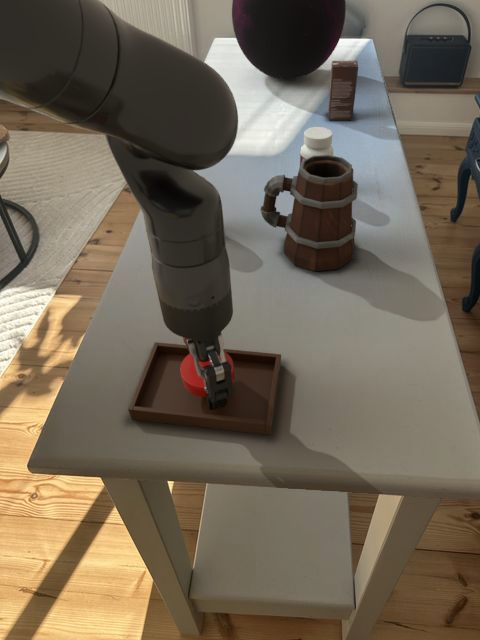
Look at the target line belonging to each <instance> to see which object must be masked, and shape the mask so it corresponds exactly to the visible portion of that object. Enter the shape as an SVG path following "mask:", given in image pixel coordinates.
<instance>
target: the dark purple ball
mask: <svg viewBox="0 0 480 640" xmlns="http://www.w3.org/2000/svg"><path fill="white" fill-rule="evenodd" d="M231 2H232V3H231V20H232V21H231V22H232V27H233V32H234V36H235V39H236V42H237V44H238V47H239V49H240V50H241V51H242V53H243V55H244V57H245V58H246V59H247V61H248V62H249V63H250V64H251V65H252V66H253V67H254V68H255V69H256V70H258V71H259V72H260V73H263V74H265V75H266V76H268V77H271V78H275V79H278V80H279V79H280V80H294V79H295V80H296V79H300V78H303V77H306V76H308V75H309V74H312V73H313V72H315V71H316V70H319V68H320V67H321V66H323V65H324V64H325V63H326V62H327V60H329V58H330V57H331V56H332V54H333V53H334V51H335V50H336V48H337V46H338V44H339V41H340V39H341V37H342V33H343V30H344V26H345V20H346V12H347V11H346V10H347V9H346V7H347V6H346V0H232V1H231Z"/></svg>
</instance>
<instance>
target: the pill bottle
mask: <svg viewBox="0 0 480 640" xmlns="http://www.w3.org/2000/svg"><path fill="white" fill-rule="evenodd" d="M332 144H333V132H332V130H330V129H329V128H328V127H327V128H326V127H323V126H312V127H309V128H307V129H306V130H304V133H303V144H302V146H301V148H300V153H299V166H300V165H301V163H302V161H304V160H306V159H308V158H310V157H312V156H318V155H332V156H334V148H333V146H332Z"/></svg>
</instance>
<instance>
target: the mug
mask: <svg viewBox="0 0 480 640" xmlns="http://www.w3.org/2000/svg"><path fill="white" fill-rule="evenodd" d="M358 185H359V184H358V183H357V182H356V180H354V168H353V165H352V163H350V162H349V161H347V160H346V159H345V158H344V157H341V156H336V155H333V156H332V155H318V156H312V157H310V158H308V159H306V160H304V161H302V163H301V165H300V164H299V168H298V172H297V175H294V176H293V177H292V178H291V177H286V174H282V175H281V174H280V175H275V176H273V177H271V178H270V179H269V180H268V181H267V182H266V185H264V188H263V191H264V198H263V204H262V205H261V206H260V209H259V211H260V213H261V217H262V218H263V220H264V222H266V223H267V224H268V225H269V226H271V227H273V228H275V229H276V228H277V227H278V228H283V229H284V231H285V232H286V234H285V239H284V242H283V254H284V255H285V256H286V257H287V259H288V260H289V261H290V262H291V263H292V264H293V265H294V266H297V267H300V268H303V269H306V270H310V271H314V272H323V271H331V270H333V271H334V270H338V269H340V268H341V267H343V266H344V265H346V264H347V263H349V262H350V261H353V256H354V249H355V237H356V229H357V220H356V219H355V218H354V217H353V201H355V200H356V199H358V187H359V186H358ZM284 192H289V195H291V196H292V197H293V198H294V199H293V204H292V211H291V213H288V214H287V215H284V214H281V212H280V211H277V207H276V202H277V197H279V195H280V193H284Z"/></svg>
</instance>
